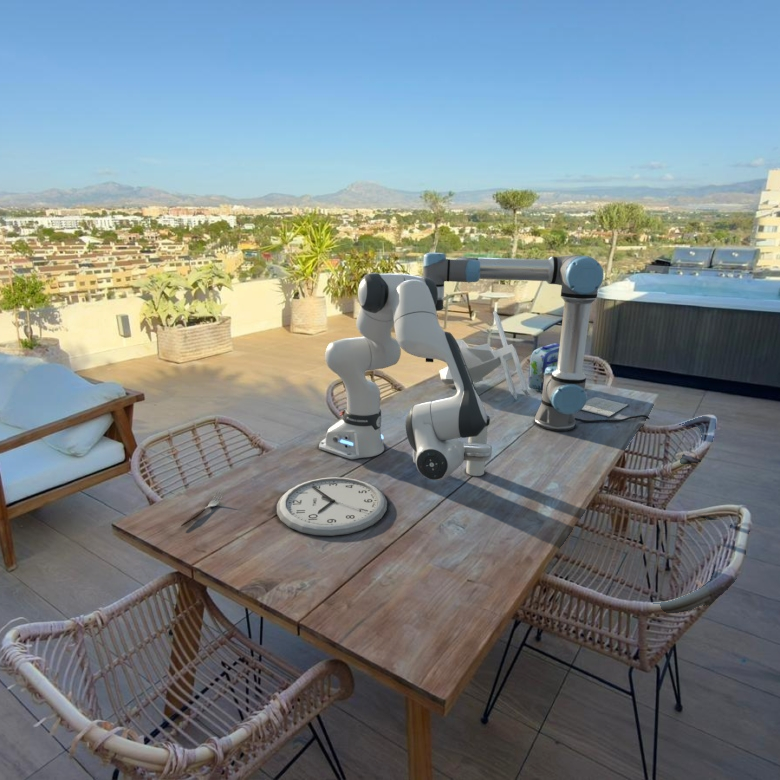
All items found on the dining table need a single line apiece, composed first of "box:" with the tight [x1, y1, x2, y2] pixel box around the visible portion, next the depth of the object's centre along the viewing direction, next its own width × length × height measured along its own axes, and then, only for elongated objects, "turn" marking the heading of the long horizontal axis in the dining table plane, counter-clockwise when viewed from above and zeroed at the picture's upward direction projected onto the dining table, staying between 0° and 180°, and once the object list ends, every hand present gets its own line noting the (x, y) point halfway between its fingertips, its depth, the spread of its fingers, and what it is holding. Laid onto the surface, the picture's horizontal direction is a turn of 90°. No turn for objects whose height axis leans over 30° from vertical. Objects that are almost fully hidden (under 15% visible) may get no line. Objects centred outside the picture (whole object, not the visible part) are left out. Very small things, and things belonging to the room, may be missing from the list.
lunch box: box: [528, 343, 560, 392], centre depth 249 cm, size 26×11×21 cm, turn 134°
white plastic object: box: [438, 310, 531, 400], centre depth 245 cm, size 37×45×31 cm
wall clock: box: [276, 476, 388, 537], centre depth 142 cm, size 30×2×30 cm
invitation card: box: [580, 396, 629, 418], centre depth 226 cm, size 21×1×15 cm
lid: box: [486, 414, 491, 427], centre depth 159 cm, size 6×6×2 cm
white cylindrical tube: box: [465, 425, 489, 477], centre depth 161 cm, size 6×6×18 cm
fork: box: [180, 491, 225, 527], centre depth 138 cm, size 3×16×2 cm, turn 160°
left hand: (457, 445), depth 143 cm, fingers open, 8 cm apart
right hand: (430, 357), depth 190 cm, fingers open, 13 cm apart
